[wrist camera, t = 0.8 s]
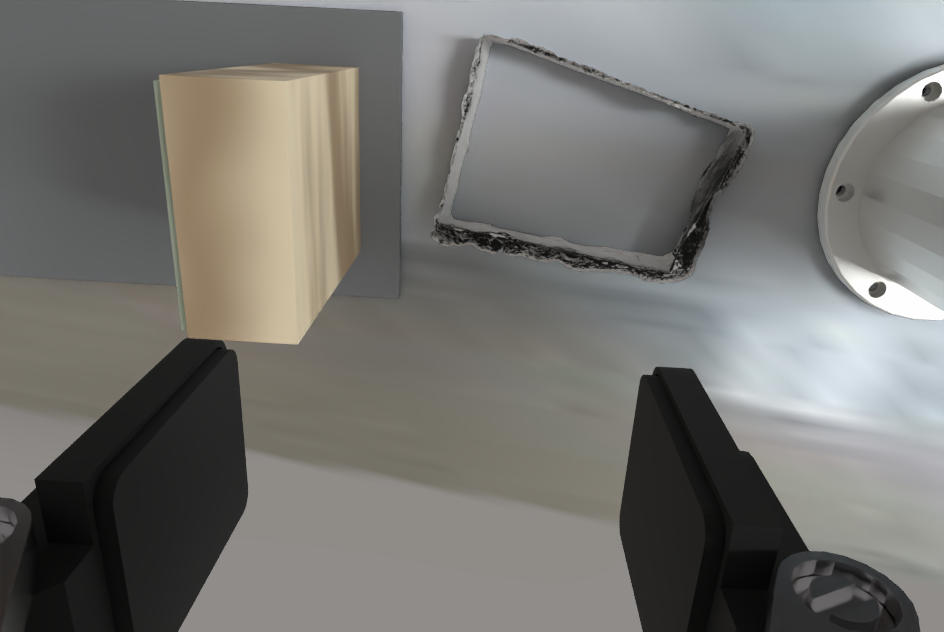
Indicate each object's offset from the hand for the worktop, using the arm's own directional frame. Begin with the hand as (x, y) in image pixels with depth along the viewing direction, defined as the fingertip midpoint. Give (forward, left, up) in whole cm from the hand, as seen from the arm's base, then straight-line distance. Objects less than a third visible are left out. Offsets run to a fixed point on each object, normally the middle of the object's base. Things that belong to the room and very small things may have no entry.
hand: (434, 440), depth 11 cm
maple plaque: (+8, 0, -25) cm, 26 cm away
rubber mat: (+15, 0, -26) cm, 30 cm away
